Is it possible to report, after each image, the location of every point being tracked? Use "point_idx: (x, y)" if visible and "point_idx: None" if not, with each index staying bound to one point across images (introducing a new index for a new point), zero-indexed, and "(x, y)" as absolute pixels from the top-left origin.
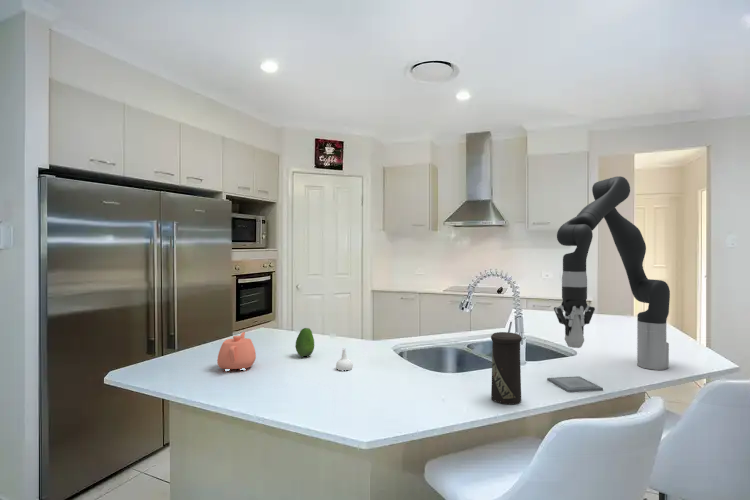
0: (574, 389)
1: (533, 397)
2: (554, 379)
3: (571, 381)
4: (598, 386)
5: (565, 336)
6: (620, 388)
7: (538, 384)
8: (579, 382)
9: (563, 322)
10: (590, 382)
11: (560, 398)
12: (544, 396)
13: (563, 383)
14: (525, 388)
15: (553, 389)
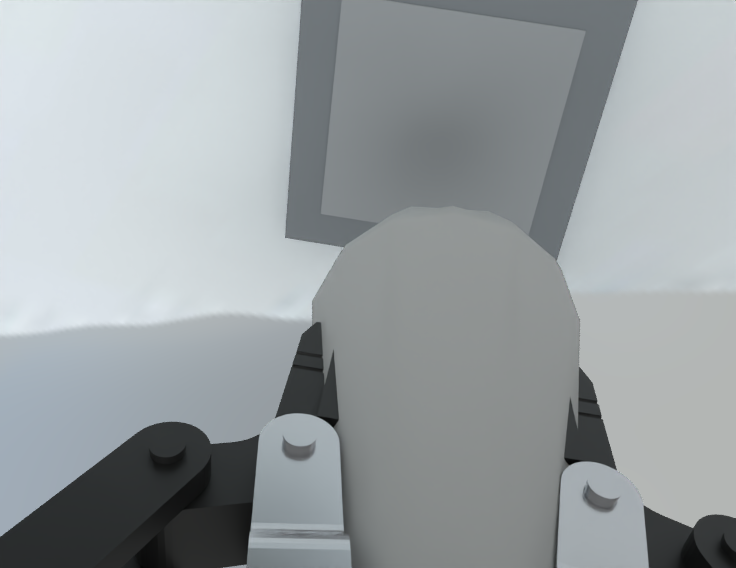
0: (333, 243)
1: (20, 230)
2: (340, 8)
3: (440, 104)
4: (549, 247)
5: (327, 298)
6: (708, 275)
7: (174, 19)
8: (484, 143)
9: (132, 563)
10: (575, 162)
11: (176, 289)
12: (96, 237)
13: (340, 125)
14: (31, 71)
15: (226, 151)
